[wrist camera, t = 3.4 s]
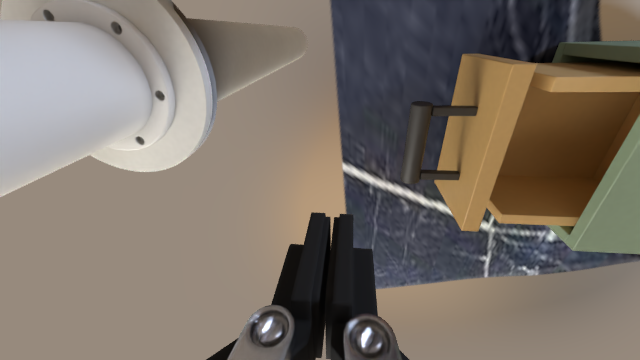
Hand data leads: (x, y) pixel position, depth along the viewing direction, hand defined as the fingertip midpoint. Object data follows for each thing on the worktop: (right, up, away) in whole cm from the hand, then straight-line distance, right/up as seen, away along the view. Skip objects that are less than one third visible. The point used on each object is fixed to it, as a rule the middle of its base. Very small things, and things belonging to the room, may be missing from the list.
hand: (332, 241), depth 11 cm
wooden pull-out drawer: (+15, +7, +12) cm, 21 cm away
